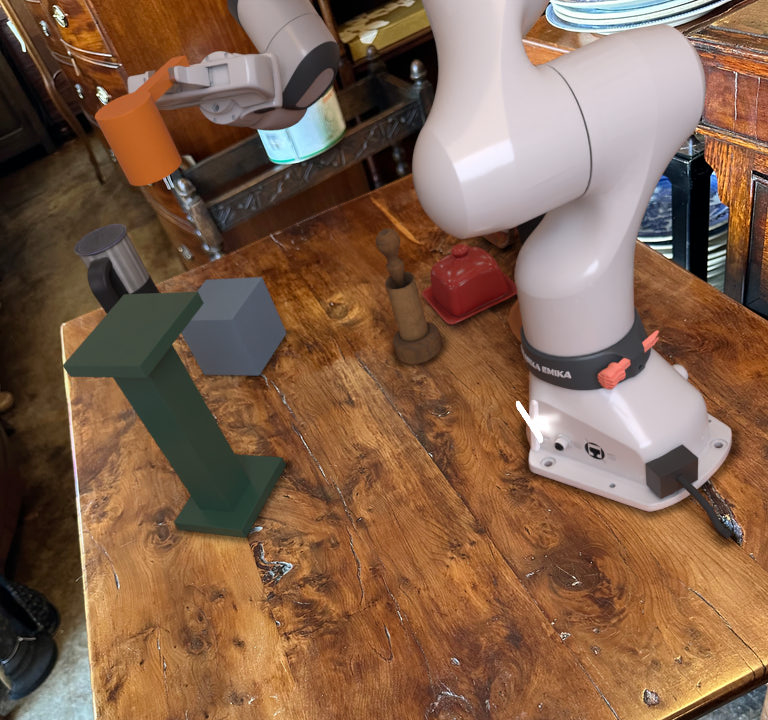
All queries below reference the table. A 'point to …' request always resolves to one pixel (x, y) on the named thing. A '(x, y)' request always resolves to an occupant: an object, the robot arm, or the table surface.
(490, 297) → the butter dish
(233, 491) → the shelf stand
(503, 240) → the tin
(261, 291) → the slate grey cube
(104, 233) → the milk frother
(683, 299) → the table surface
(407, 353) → the mortar and pestle
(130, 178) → the measuring cup
